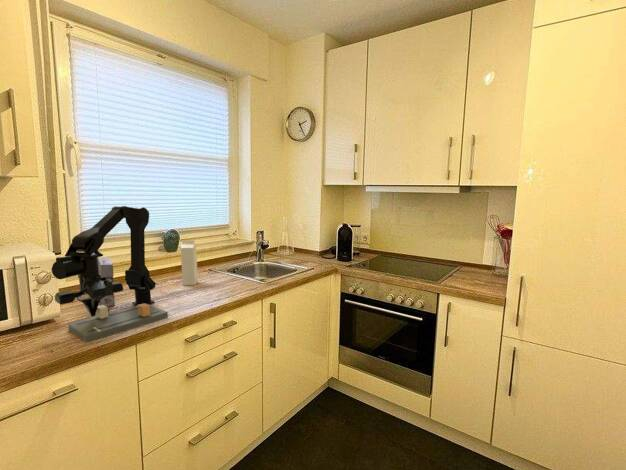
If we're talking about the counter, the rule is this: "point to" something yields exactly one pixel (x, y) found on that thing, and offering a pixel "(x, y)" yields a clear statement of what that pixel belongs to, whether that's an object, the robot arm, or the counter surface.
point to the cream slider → (102, 311)
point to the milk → (189, 263)
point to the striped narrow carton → (106, 274)
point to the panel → (114, 323)
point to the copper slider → (143, 310)
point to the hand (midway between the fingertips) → (92, 316)
